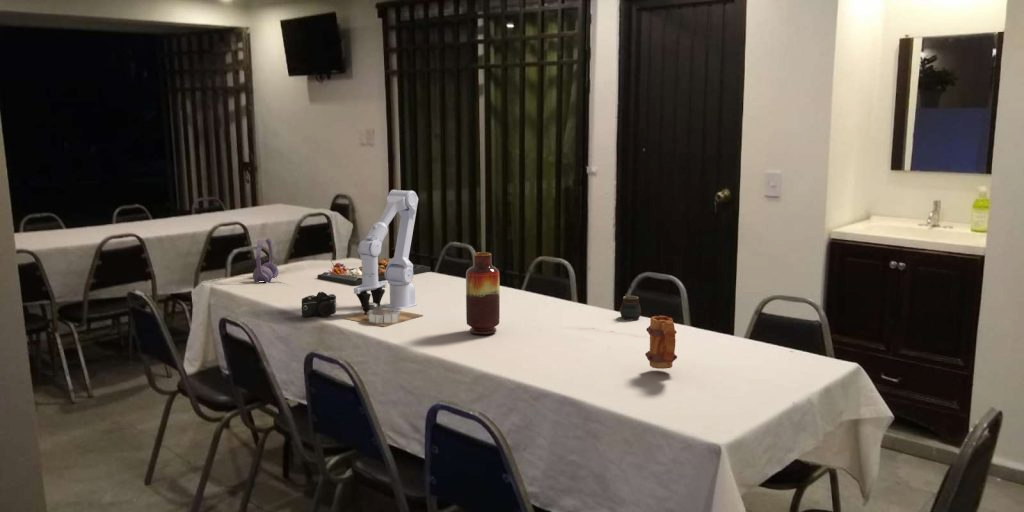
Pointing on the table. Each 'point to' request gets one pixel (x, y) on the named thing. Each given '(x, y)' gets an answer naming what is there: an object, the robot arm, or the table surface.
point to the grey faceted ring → (383, 316)
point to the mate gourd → (630, 307)
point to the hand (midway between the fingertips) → (371, 310)
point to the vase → (482, 295)
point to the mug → (661, 342)
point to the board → (363, 319)
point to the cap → (372, 307)
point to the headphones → (266, 269)
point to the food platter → (355, 274)
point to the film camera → (319, 305)
